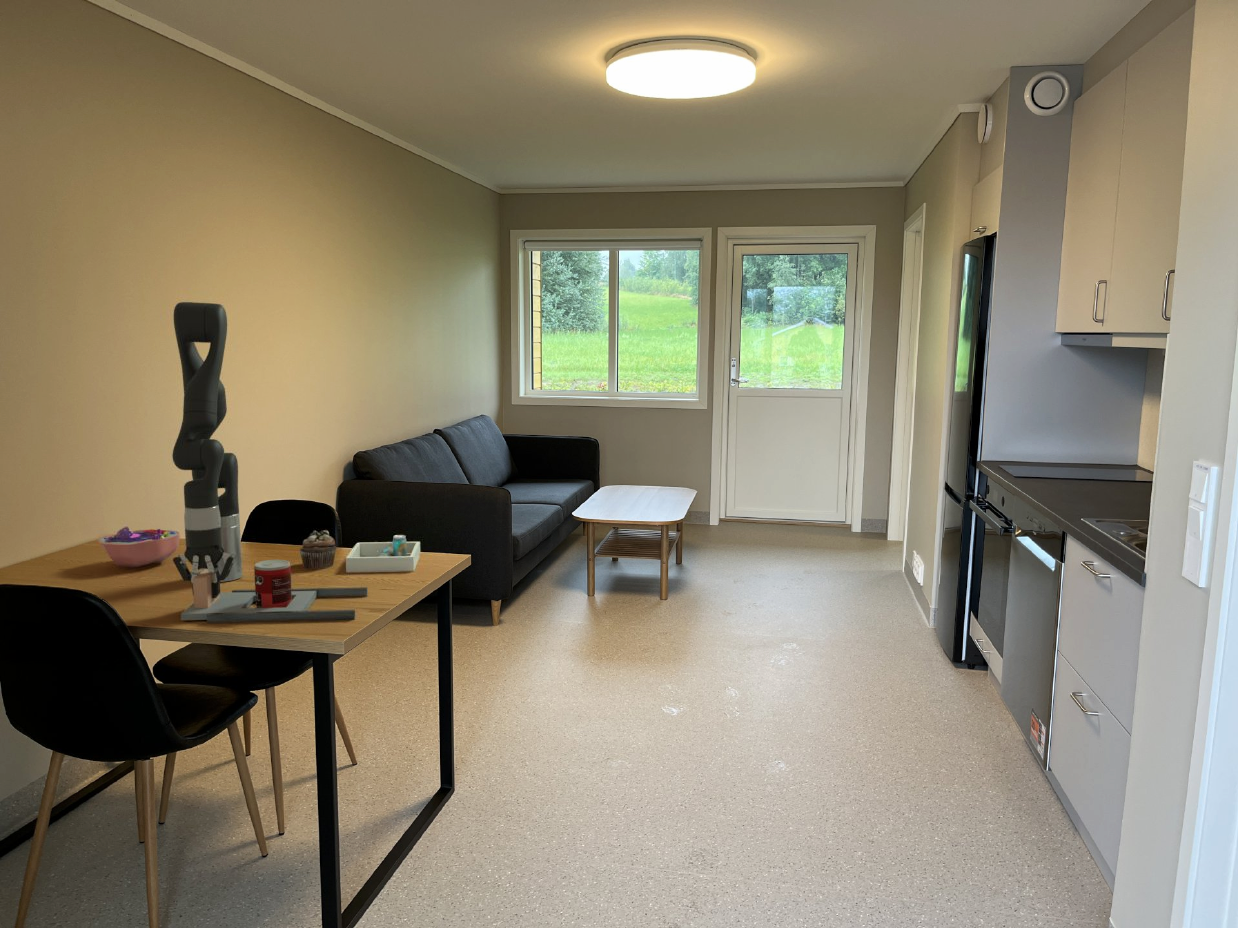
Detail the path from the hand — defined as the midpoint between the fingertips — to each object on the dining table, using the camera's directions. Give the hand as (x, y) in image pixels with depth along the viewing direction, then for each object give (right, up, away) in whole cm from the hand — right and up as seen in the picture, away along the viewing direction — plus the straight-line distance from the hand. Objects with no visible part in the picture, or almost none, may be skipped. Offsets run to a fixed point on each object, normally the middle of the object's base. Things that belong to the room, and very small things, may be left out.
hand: (206, 597), depth 204 cm
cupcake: (+12, +2, +41) cm, 43 cm away
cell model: (-36, +3, +39) cm, 53 cm away
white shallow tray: (+30, +3, +44) cm, 53 cm away
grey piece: (+10, -3, +2) cm, 10 cm away
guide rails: (+19, -3, +3) cm, 19 cm away
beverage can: (+32, +3, +45) cm, 55 cm away
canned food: (+15, -3, +2) cm, 15 cm away
